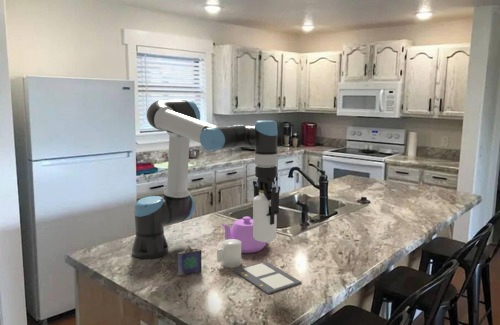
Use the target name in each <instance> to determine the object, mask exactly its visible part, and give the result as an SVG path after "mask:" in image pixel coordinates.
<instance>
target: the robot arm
mask: <svg viewBox="0 0 500 325" xmlns="http://www.w3.org/2000/svg"><path fill="white" fill-rule="evenodd" d="M146 119H147V123H148V124H149V126H151V127H152V128H154V129H156V130H158V131H161V132H166V133H167V134H168V135H169V138H168V139H169V140H168V158H167V160H168V162H167V164H168V165H167V183H166V184H167V186H166V189H165V190H164V191H163V196H162V197H161V196H159V195H152V196H150V195H148V196H146V197H142V198H140V199H138V200H137V201H136V202H135V204H134V212H133V213H134V226H135V228H134V229H135V237H134V240H133V241H134V242H133V244H132V248H131V254H132V256H133V257H135V258H137V259H142V260H143V259H145V260H148V259H158V258H160V257H161V258H162V257H163V256H165V255H167V254H168V253H169V244H168V242H167V239H166V236H165V233H164V232H165V231H164V228H165V227H164V226H168V225H171V224H175V223H179V222H181V223H182V222H184V221H186V220H188V219H191V217H192V216H193V215H194V214H195V210H196V203H195V201H194V197H193V196H192V194H191V192H190V191H189V190H188V177H189V157H190V156H189V155H190V141H194V142H195V143H196V142H197V143H199V144H200V145H201V147H202V148H203V150H206V151H213V152H214V151H220V150H221V151H222V150H226V149H227V150H228V149H235V148H243V147H245V148H246V147H248V148H249V147H250V148H255V149H254V151H255V152H254V155H255V156H254V164H255V165H256V166H255V168H254V170H255V171H254V172H255V173H254V174H255V177H256V178H257V179H256V180H253V181H252V185H253V186H252V187H253V198H254V197H256V196H257V195H259V192H260V191H259V190H264V195H265V196H266V198H267V200H268V201H269V200H271V207H270V206H269V213H268V214H267V215H266V216H270V225H272V224H274V216H275V215H276V214H277V215H279V213H280V212H279V211H280V191H281V186H279V185H278V186H277V185H276V182H275V178H277V177H278V167H277V165H278V134H279V133H278V124H277V122H276V121H275V120H256V121H255V123H254V125H246V124H234V125H231V126H220V125H219V126H218V125H215V124H212V123H209V122H206V121H203V120H201V113H200V109H199V106H197V103H195V102H194V101H192V100H190V99H160V100H156V101H155V102H152V103H151V104H150V106H149V107H148V108H147V111H146Z"/></svg>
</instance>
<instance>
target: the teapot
mask: <svg viewBox="0 0 500 325" xmlns="http://www.w3.org/2000/svg"><path fill="white" fill-rule="evenodd" d="M221 226H223V227H224V240H227V239H237V240H240V241H241V254H252V253H257V252H260V251H261V250H263V249H264V248H265V246H267V243H268V242H259V241H257V240H255V239H254V238H253V218H251V216H243V217H242V218H240V219H237V220H235V221H234V223H233V224H232V225H231V227H230V226H229V224H225V223H221Z"/></svg>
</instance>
